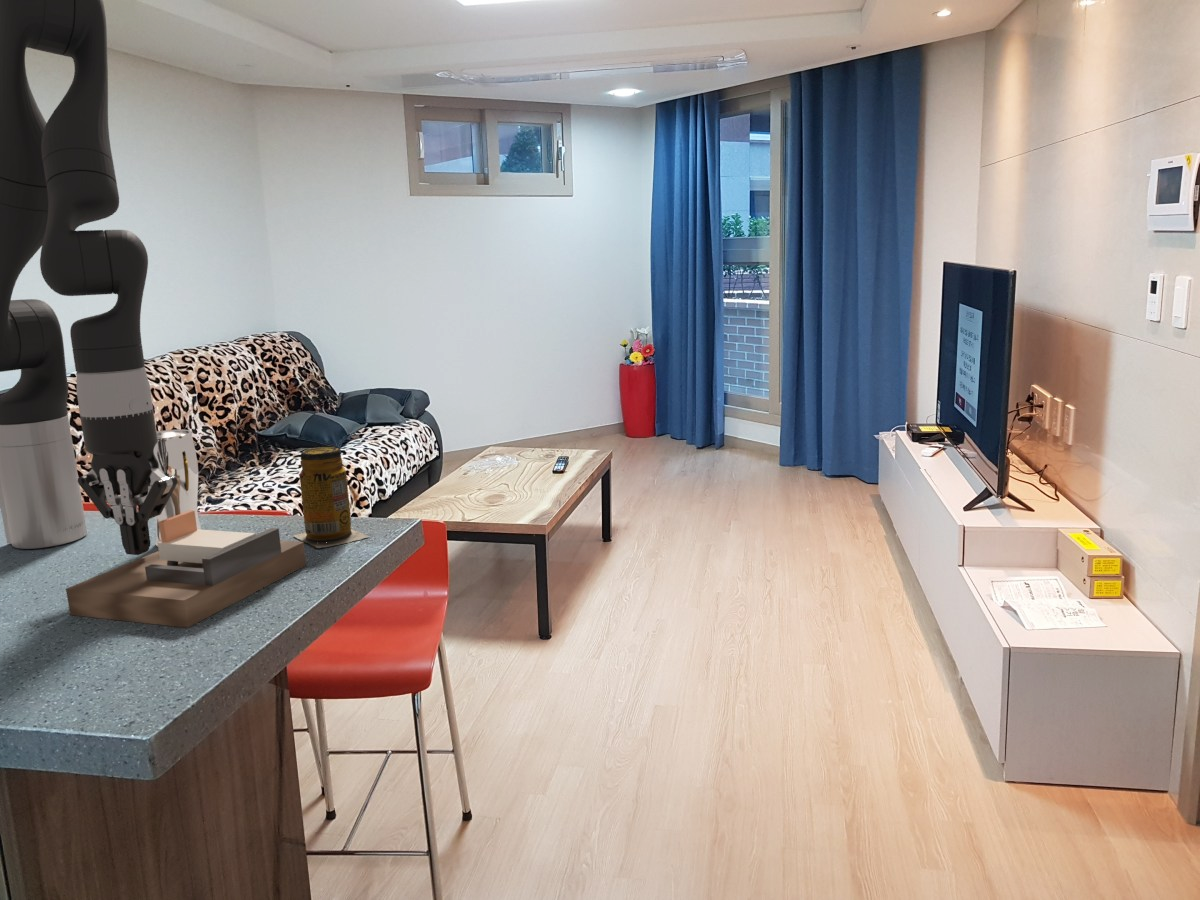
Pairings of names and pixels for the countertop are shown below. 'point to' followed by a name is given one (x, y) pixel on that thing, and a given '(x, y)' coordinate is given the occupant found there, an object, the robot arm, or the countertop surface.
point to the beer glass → (178, 473)
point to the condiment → (325, 499)
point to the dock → (186, 583)
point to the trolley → (192, 540)
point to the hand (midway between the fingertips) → (137, 552)
